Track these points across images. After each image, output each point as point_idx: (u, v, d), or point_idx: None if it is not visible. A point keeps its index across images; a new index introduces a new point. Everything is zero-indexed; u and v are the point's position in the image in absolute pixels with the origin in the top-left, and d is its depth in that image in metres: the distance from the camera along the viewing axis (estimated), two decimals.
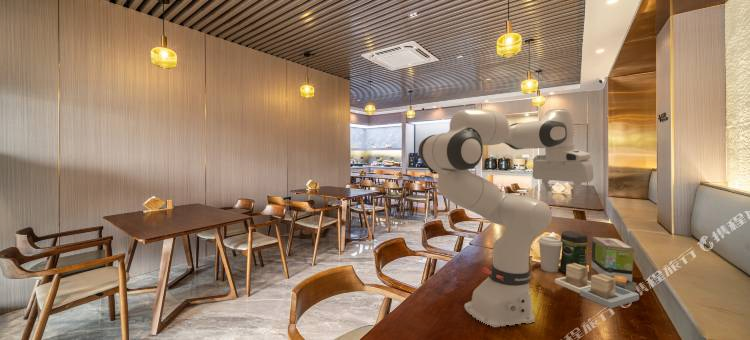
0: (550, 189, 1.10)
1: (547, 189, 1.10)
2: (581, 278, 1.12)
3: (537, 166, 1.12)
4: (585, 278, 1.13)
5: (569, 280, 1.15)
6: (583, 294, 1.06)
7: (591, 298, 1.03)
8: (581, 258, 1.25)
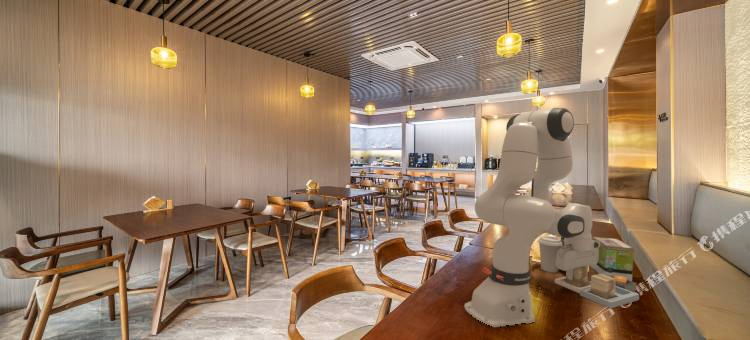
0: None
1: (573, 277, 1.13)
2: (581, 278, 1.12)
3: (568, 257, 1.10)
4: (585, 278, 1.13)
5: (569, 280, 1.15)
6: (583, 294, 1.06)
7: (591, 298, 1.03)
8: None
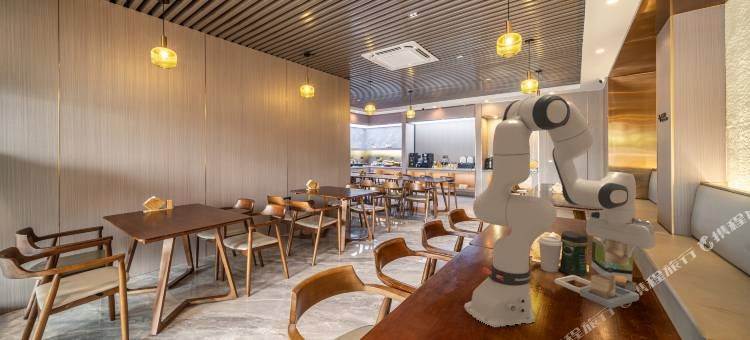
0: None
1: None
2: None
3: None
4: None
5: (623, 259, 1.03)
6: (583, 294, 1.06)
7: (591, 298, 1.03)
8: (581, 258, 1.25)
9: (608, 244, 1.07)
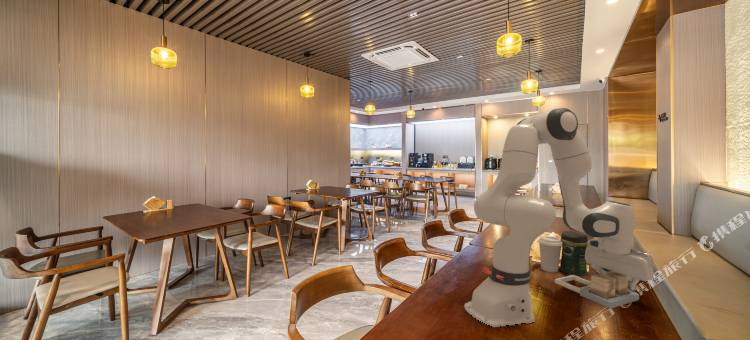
0: None
1: None
2: None
3: None
4: None
5: (621, 293, 1.04)
6: (583, 294, 1.06)
7: (591, 298, 1.03)
8: (581, 258, 1.25)
9: None
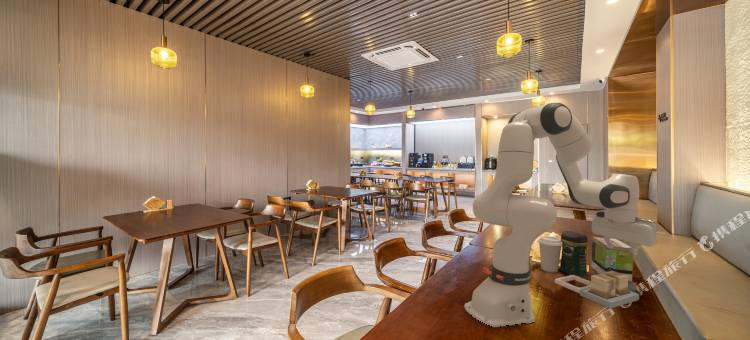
0: None
1: None
2: None
3: None
4: None
5: (621, 293, 1.04)
6: (583, 294, 1.06)
7: (591, 298, 1.03)
8: (581, 258, 1.25)
9: None
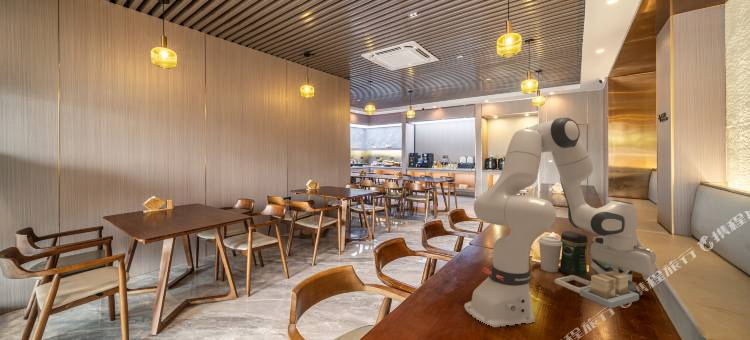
0: None
1: None
2: None
3: None
4: None
5: (621, 293, 1.04)
6: (583, 294, 1.06)
7: (591, 298, 1.03)
8: (581, 258, 1.25)
9: None
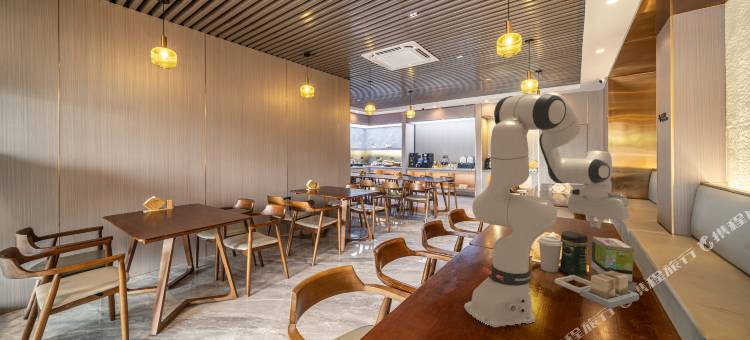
0: None
1: None
2: None
3: None
4: None
5: (621, 293, 1.04)
6: (583, 294, 1.06)
7: (591, 298, 1.03)
8: (581, 258, 1.25)
9: None
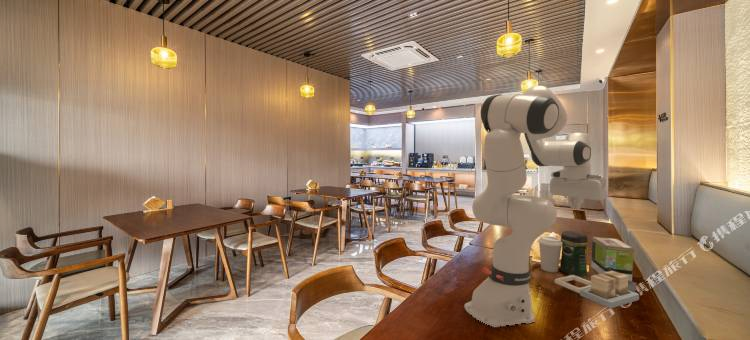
0: None
1: None
2: None
3: None
4: None
5: (621, 293, 1.04)
6: (583, 294, 1.06)
7: (591, 298, 1.03)
8: (581, 258, 1.25)
9: None
